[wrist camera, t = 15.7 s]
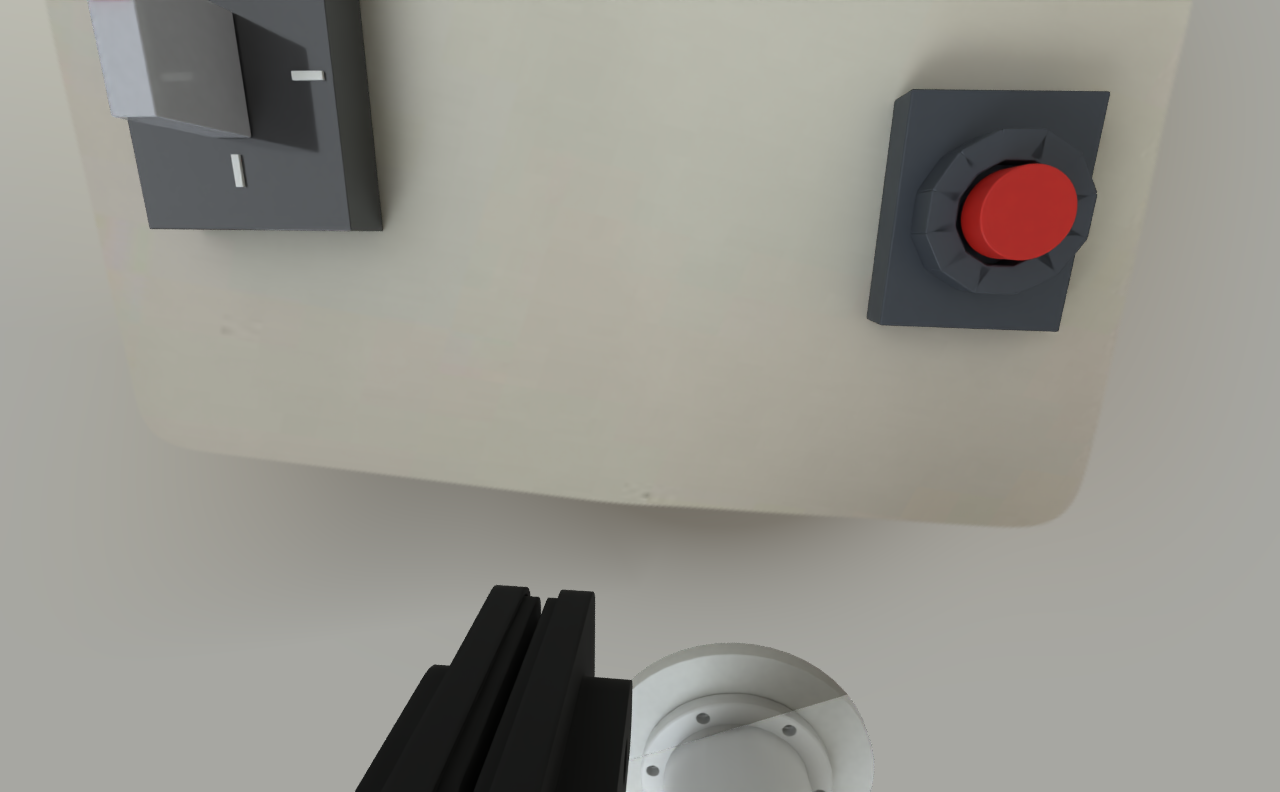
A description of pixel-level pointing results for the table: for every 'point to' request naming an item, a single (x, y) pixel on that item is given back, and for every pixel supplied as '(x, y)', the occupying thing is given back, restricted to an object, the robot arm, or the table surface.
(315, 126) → the panel
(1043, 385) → the table surface
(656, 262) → the table surface
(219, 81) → the hob knob
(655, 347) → the table surface
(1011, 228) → the stop button
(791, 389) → the table surface
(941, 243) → the stop block
